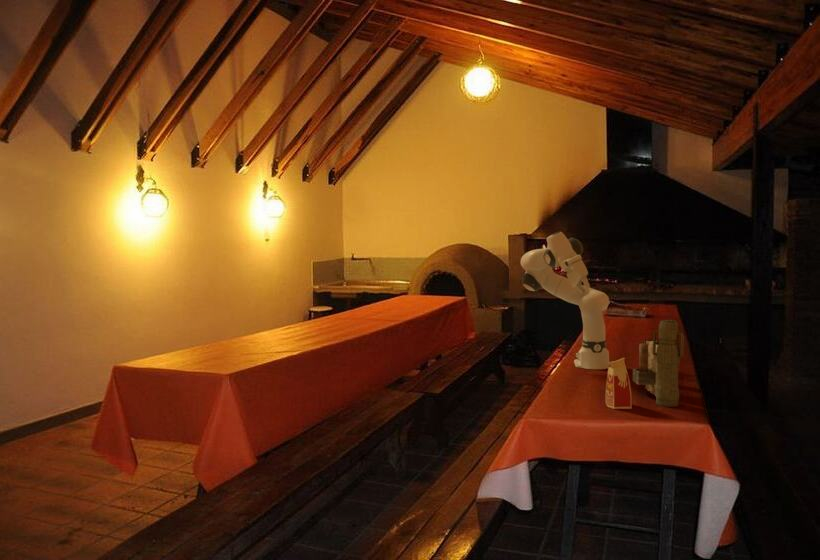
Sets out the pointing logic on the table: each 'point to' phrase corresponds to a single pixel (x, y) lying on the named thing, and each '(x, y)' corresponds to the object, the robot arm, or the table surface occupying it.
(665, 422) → the table surface
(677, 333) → the thermos
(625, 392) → the milk carton
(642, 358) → the cylinder
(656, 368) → the bracket
